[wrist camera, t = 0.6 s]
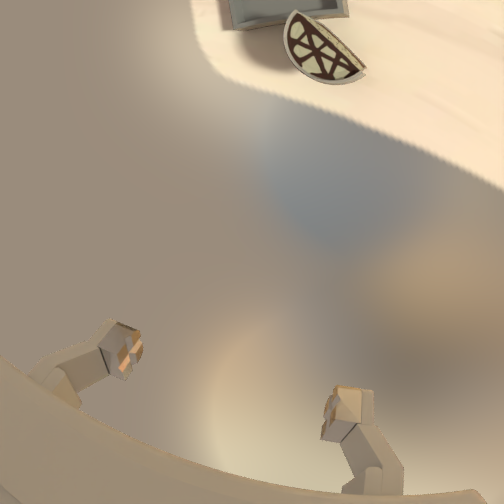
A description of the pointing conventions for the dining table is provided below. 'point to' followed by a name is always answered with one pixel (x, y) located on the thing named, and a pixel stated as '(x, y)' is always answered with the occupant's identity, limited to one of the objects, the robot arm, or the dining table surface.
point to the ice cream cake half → (320, 52)
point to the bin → (282, 11)
